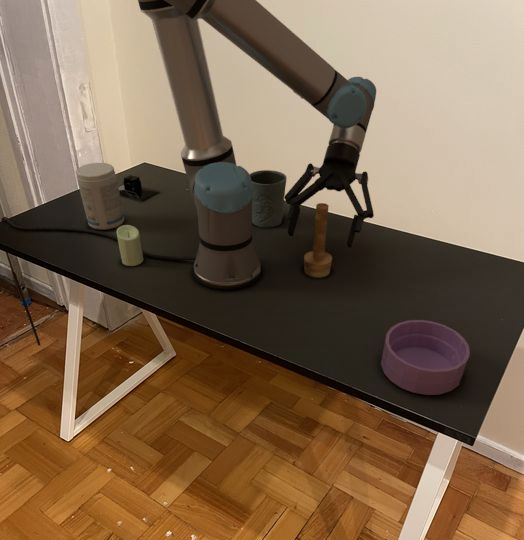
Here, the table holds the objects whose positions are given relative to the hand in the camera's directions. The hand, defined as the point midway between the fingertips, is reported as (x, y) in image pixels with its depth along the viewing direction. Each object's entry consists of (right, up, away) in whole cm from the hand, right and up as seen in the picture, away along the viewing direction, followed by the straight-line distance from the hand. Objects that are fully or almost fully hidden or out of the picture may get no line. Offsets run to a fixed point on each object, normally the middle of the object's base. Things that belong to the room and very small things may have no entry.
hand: (319, 239), depth 115 cm
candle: (-43, -3, +9) cm, 44 cm away
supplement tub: (-54, +9, +24) cm, 60 cm away
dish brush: (0, -6, +6) cm, 8 cm away
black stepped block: (-51, +22, +40) cm, 69 cm away
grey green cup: (-11, +11, +26) cm, 31 cm away
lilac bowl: (+16, -28, -21) cm, 38 cm away
